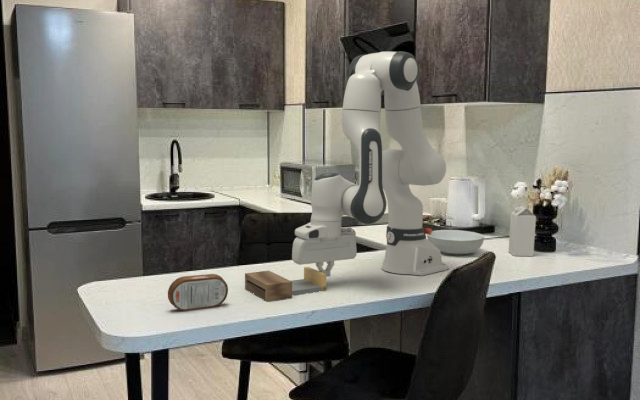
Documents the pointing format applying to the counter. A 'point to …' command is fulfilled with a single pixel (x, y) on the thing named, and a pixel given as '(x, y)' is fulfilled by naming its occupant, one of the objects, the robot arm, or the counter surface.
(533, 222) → the milk carton
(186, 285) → the tin
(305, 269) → the grey board with lip
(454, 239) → the serving bowl
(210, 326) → the counter surface
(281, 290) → the overhang shelf
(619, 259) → the counter surface
